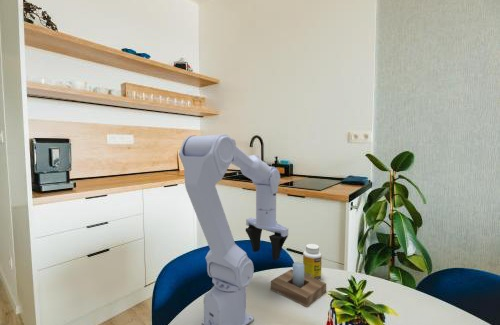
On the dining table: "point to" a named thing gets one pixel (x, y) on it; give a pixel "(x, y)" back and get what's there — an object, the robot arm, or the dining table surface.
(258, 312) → the dining table surface
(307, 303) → the socket block
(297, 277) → the dowel
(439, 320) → the dining table surface
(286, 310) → the dining table surface
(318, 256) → the supplement bottle
